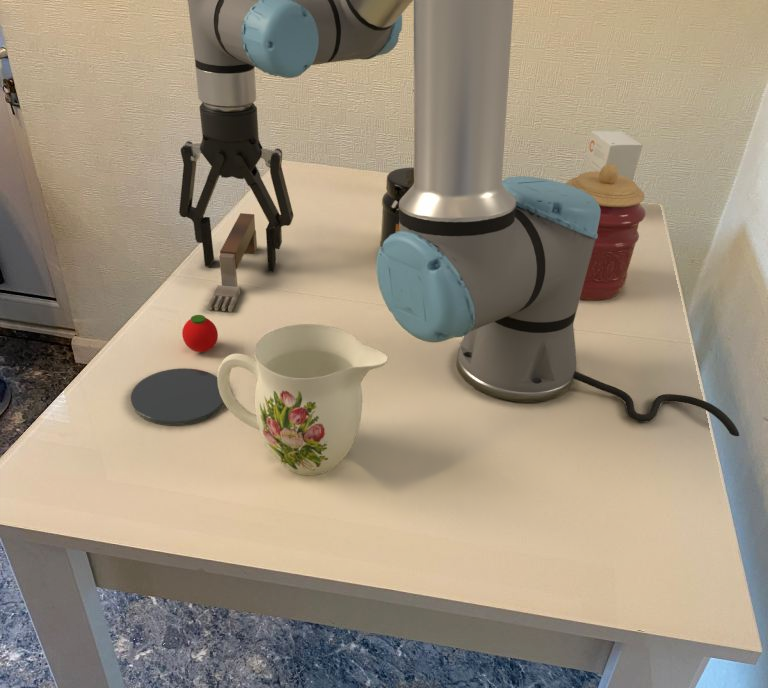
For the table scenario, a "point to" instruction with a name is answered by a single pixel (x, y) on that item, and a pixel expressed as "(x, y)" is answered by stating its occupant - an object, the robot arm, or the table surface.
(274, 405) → the pitcher
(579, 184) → the kitchen canister
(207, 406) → the plate
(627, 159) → the small box
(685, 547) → the table surface
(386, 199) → the supplement container
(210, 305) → the fork
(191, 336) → the tomato
